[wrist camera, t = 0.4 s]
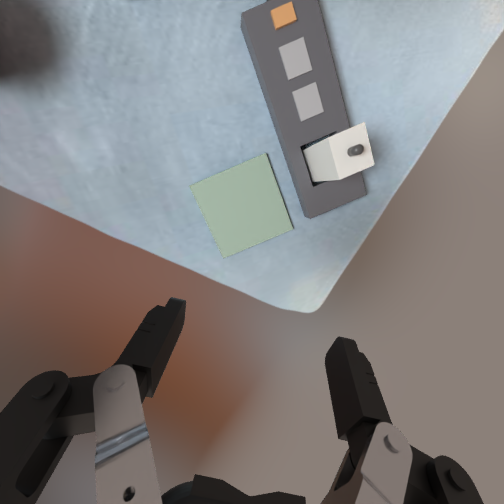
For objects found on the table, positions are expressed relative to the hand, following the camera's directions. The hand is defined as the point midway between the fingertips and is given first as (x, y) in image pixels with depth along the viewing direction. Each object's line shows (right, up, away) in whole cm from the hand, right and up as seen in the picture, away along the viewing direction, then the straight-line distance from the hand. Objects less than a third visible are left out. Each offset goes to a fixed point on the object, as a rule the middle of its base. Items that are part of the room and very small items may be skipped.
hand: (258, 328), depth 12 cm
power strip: (+6, +25, +20) cm, 33 cm away
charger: (+10, +17, +23) cm, 30 cm away
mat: (-2, +11, +23) cm, 26 cm away
